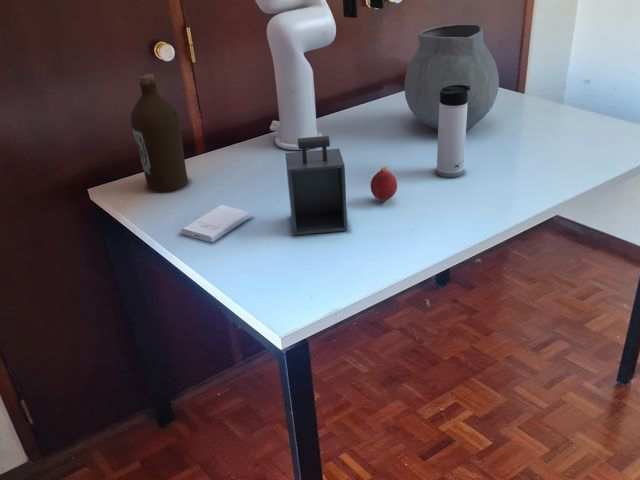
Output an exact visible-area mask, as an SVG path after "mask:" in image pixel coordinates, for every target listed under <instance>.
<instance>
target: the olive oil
mask: <svg viewBox="0 0 640 480" xmlns="http://www.w3.org/2000/svg"><path fill="white" fill-rule="evenodd" d="M138 80H139V87H140V92H141V95H140V97H138V100H137V101H136V103H135V105H134V106H133V107H132V109H131V112H130V125H131V130H132V134H133V136H134V137H133V138H134V140H135V145H136V147H137V152H138V155H139V158H140V162H141V165H142V169H143V170H142V171H143V173H144V177H145V181H146V185H147V188H148V189H149V190H150V191H152V192H155V193H169V192H170V193H171V192H174V191H178V190H181V189H183V188H184V187H186V186H187V185H188V184H189V183H188V182H189V179H188V174H187V173H188V172H187V166H186V160H185V152H184V145H183V137H182V129H181V121H180V116H179V113H178V111H177V109H176V107H175V106H174V105H173V103H171V102H170V101H169V100H168V99H166V98H165V97H164V96H162V95H161V94H160V93H159V92H158V89H157V82H156V81H155V76H154V74H153V73H142V74H140V75H139V76H138Z"/></svg>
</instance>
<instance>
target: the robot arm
mask: <svg viewBox="0 0 640 480" xmlns="http://www.w3.org/2000/svg"><path fill="white" fill-rule="evenodd" d="M254 1H255V4H256V5H257V6H258V7H259V9H260V10H261V11H262V12H263V13H265V14H268V15H269V14H275V15H274V16H273V17H271V19H269V21H268V23H267V25H266V38H267V42H268V46H269V49H270V53H271V57H272V63H273V69H274V79H275V88H276V99H277V109H278V119H279V120H272V121H271V125H270V126H269V130H270V131H271V132H272V131H273V132H276V133H277V134H276V137H275V139H274V140H275V144H276V146H277V147H279V148H280V149H284V150H291V151H302V149H299V148H298V138H308V137H321V136H324V135H323V133H321V132H319V131H318V128H317V127H318V126H317V109H316V97H315V94H316V93H315V82H314V81H315V79H314V71H313V68H312V66H311V63H309V61H308V60H307V58H306V56H305V55H304V53H307V52H310V51H314V50H318V49H321V48H325V47H328V46H330V45H331V44H332V43H333V42H334V41H335V38H336V35H337V26H336V21H335V18H334V16H333V13H332V11H331V8H330V6H329V4H328V2H327V0H254ZM384 1H385V0H369V7H370V9H378V10H382V9H384V8H385V5H384V3H385V2H384ZM342 12H343V14H342V15H343V17H344V18H351V19H356V18H358V13H359V11H358V0H342ZM310 149H311V148H306V150H310Z"/></svg>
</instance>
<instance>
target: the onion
mask: <svg viewBox="0 0 640 480" xmlns="http://www.w3.org/2000/svg"><path fill="white" fill-rule="evenodd" d="M397 189H398V182H397V178H396V177H395V175H394V174H393V173H392V172H390V171H389V170H388V169H387V166H384V165H383V166H381V169H380V170H379V171H377V172H376V173H375V174H374V175H373V176H372V178H371V181H370V191H371V194H372V195H373V196H374V197H375V198H376V199H377V200H378V201H380V202H383V203H386V202H387V201H388V200H390V199H391V198H392V197H394V195H396V192H397Z"/></svg>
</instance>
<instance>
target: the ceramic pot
mask: <svg viewBox="0 0 640 480" xmlns="http://www.w3.org/2000/svg"><path fill="white" fill-rule="evenodd" d="M417 37H418V40H419V41H418V43H419V44H418V48H417V50H416V51H415V53H414V55H413V57H412V58H411V60H410V63H409V65H408V66H407V70H406V73H405V77H404V97H405V101H406V103H407V106H408V108H409V110H410V112H412V114H413V115H414V116H415V117H416V118H417V120H419V121H421V122H422V123H423V124H424V125H426V126H427V127H429V128H432V129H435V130H438V126H439V105H440V104H439V101H440V91H441V90H442V89H443V88H445V87H447V86H452V85H466V86H470V91H469V89H468V104H467V105H468V106H467V122H466V130H468V129H471V128H473V127H474V126H475V125H476V124H478V123H479V122H481V120H482V119H484V118H485V116H486V115H488V113H489V112H490V111H491V110H492V108H493V106H494V105H495V102H496V99H497V97H498V93H499V88H500V77H499V71H498V67H497V66H498V65H497V63H496V61H495V58H494V56H493V55H492V52H491V51H490V50H489V48H488V47H487V45H486V44H485V42H484V29H483V26H481V25H479V24H474V23H473V24H472V23H456V24H447V25H446V24H445V25H440V26H434V27H431V28H427V29H424V30H422V31H421V32H419V33H418V36H417Z"/></svg>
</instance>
